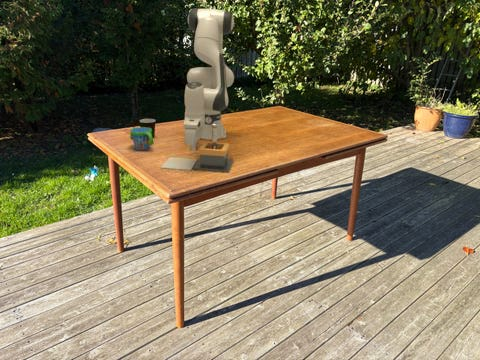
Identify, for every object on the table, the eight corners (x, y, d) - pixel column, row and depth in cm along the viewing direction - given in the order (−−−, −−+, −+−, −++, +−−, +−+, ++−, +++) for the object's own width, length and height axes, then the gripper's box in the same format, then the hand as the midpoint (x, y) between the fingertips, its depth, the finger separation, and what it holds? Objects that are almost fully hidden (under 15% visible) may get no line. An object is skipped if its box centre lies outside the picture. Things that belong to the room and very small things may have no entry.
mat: (169, 158, 181) (169, 157, 181) (197, 160, 180) (197, 159, 180) (160, 168, 168) (160, 167, 168) (190, 170, 167) (190, 169, 167)
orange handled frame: (194, 145, 178) (194, 140, 177) (229, 148, 176) (229, 143, 175) (187, 153, 167) (187, 148, 166) (225, 156, 165) (225, 151, 164)
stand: (201, 158, 182) (201, 118, 175) (233, 160, 181) (234, 120, 173) (193, 170, 168) (192, 127, 160) (228, 172, 166) (229, 129, 158)
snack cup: (125, 147, 194) (123, 128, 190) (142, 143, 201) (141, 124, 197) (142, 154, 185) (140, 134, 181) (159, 150, 192) (158, 131, 188)
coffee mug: (158, 136, 214) (157, 119, 210) (153, 140, 207) (152, 123, 203) (138, 135, 215) (137, 118, 211) (133, 139, 207) (132, 121, 204)
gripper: (193, 114, 177) (193, 142, 182) (182, 125, 158) (182, 155, 163) (206, 115, 176) (206, 143, 182) (196, 125, 157) (196, 156, 163)
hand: (195, 149), depth 172 cm, fingers closed on orange handled frame, 3 cm apart
